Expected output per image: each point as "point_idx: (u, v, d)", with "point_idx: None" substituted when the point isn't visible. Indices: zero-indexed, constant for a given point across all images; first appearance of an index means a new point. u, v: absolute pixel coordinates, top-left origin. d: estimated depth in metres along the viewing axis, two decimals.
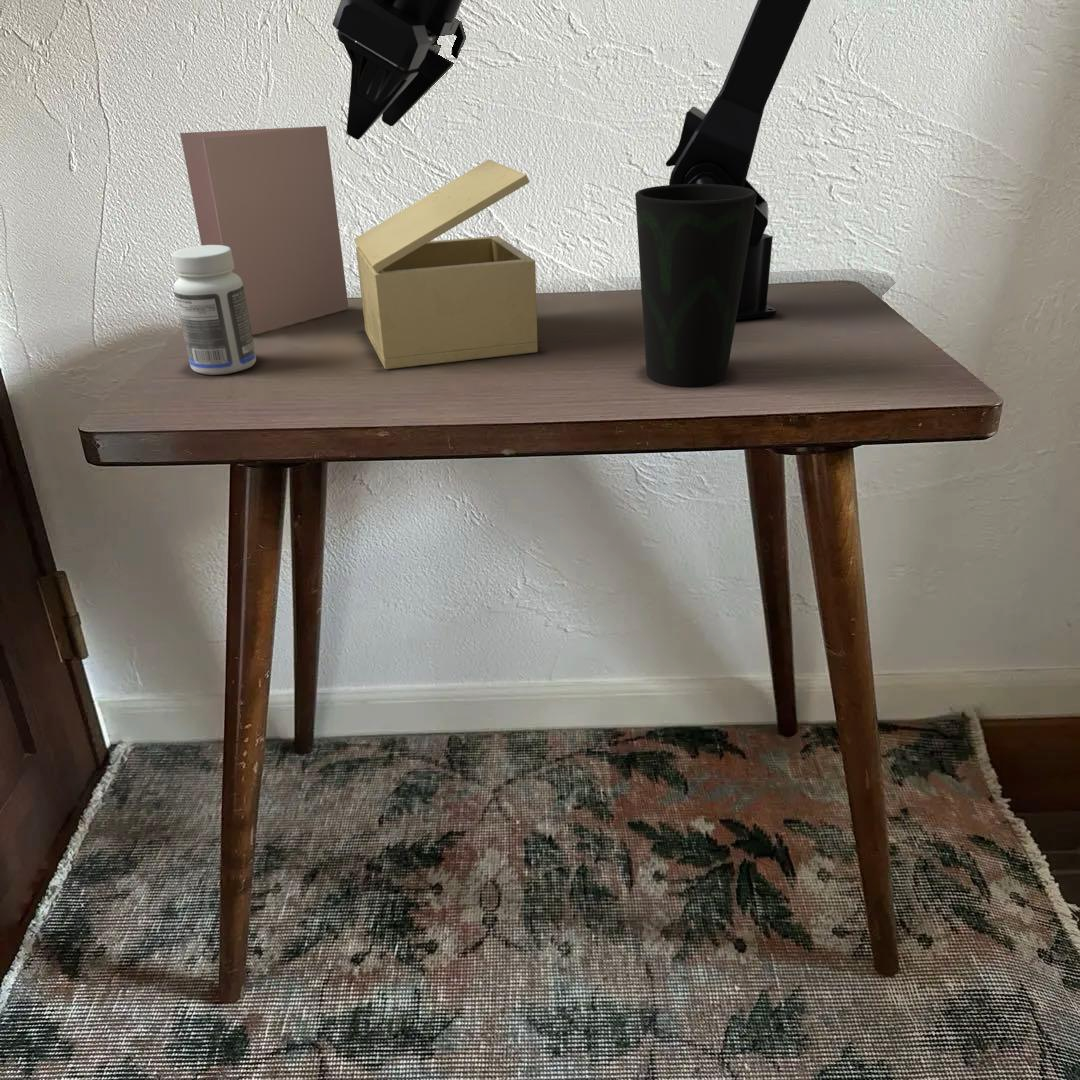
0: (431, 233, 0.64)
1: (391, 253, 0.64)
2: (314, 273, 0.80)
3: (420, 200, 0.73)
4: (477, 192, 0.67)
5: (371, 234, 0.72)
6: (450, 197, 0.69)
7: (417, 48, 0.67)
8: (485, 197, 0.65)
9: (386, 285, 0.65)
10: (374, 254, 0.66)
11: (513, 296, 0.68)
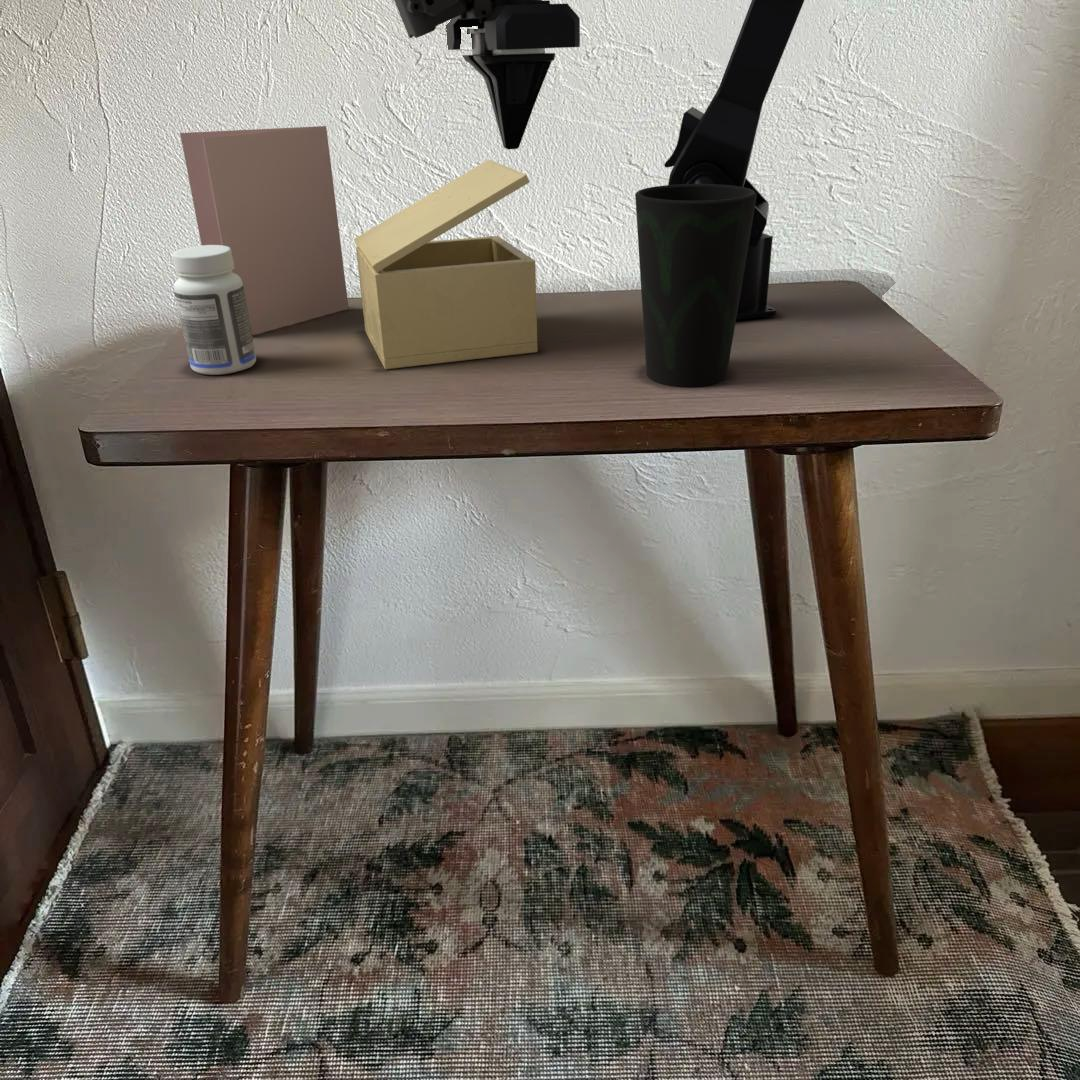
0: (431, 233, 0.64)
1: (391, 253, 0.64)
2: (314, 273, 0.80)
3: (420, 200, 0.73)
4: (477, 192, 0.67)
5: (371, 234, 0.72)
6: (450, 197, 0.69)
7: None
8: (485, 197, 0.65)
9: (386, 285, 0.65)
10: (374, 254, 0.66)
11: (513, 296, 0.68)
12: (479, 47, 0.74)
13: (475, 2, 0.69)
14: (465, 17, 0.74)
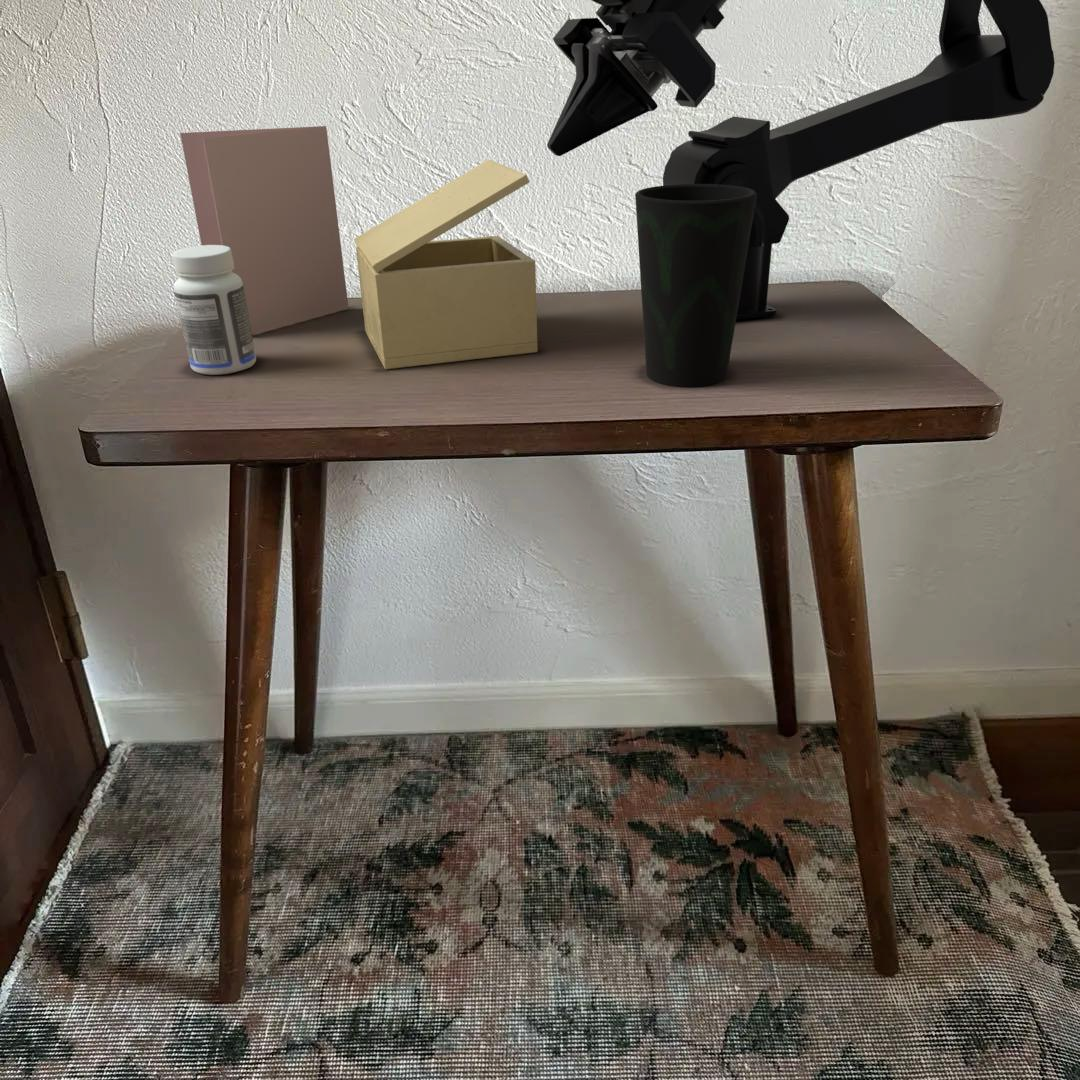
0: (431, 233, 0.64)
1: (391, 253, 0.64)
2: (314, 273, 0.80)
3: (420, 200, 0.73)
4: (477, 192, 0.67)
5: (371, 234, 0.72)
6: (450, 197, 0.69)
7: (711, 87, 0.62)
8: (485, 197, 0.65)
9: (386, 285, 0.65)
10: (374, 254, 0.66)
11: (513, 296, 0.68)
12: None
13: None
14: (604, 14, 0.68)
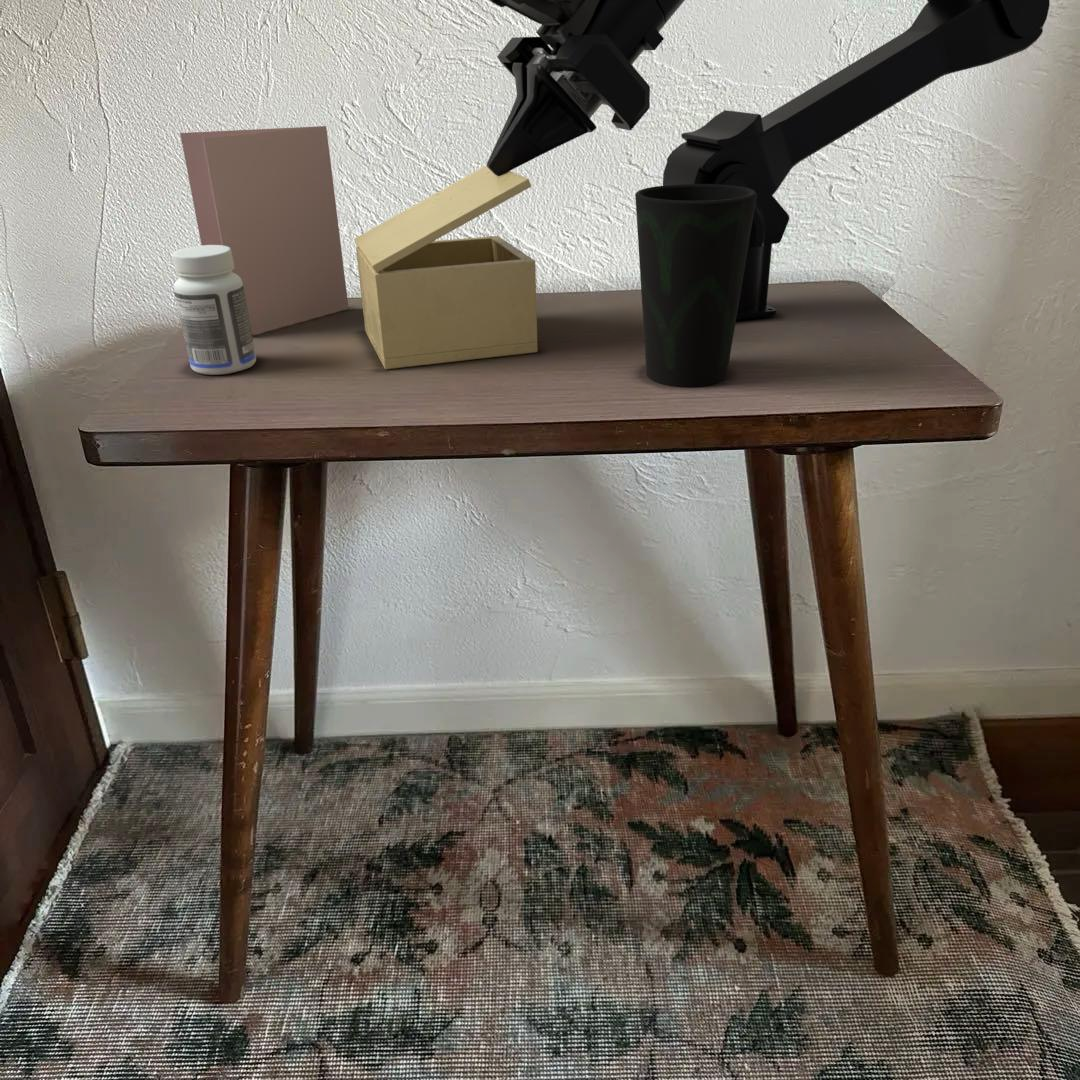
0: (432, 235, 0.65)
1: (391, 254, 0.64)
2: (314, 273, 0.80)
3: (421, 202, 0.73)
4: (479, 195, 0.67)
5: (371, 234, 0.72)
6: (451, 199, 0.69)
7: (646, 110, 0.62)
8: (487, 200, 0.65)
9: (386, 285, 0.65)
10: (374, 254, 0.66)
11: (513, 296, 0.68)
12: None
13: (570, 20, 0.63)
14: (544, 34, 0.67)
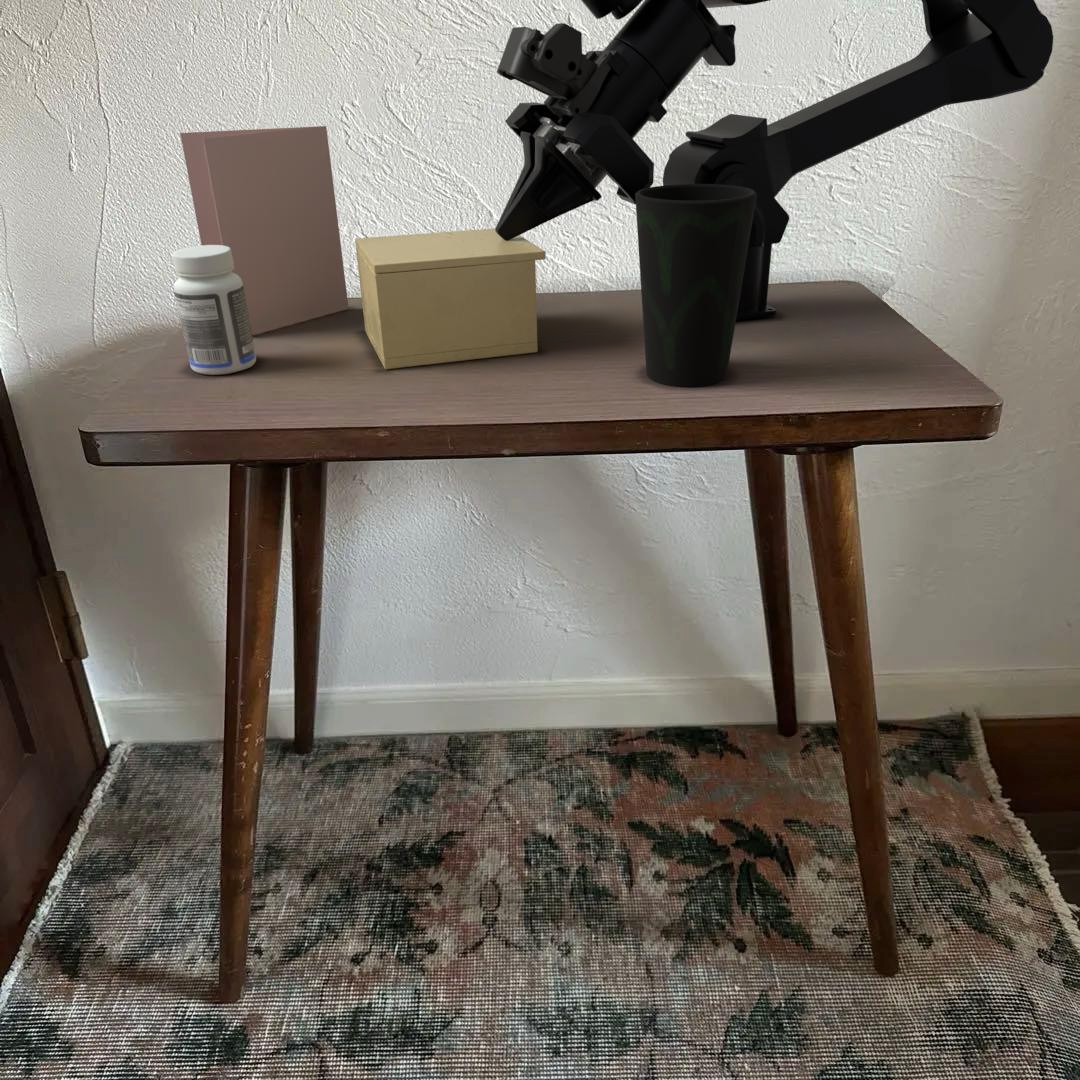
0: (440, 262, 0.66)
1: (396, 262, 0.65)
2: (314, 273, 0.80)
3: (431, 233, 0.74)
4: (493, 247, 0.69)
5: (375, 241, 0.72)
6: (464, 241, 0.71)
7: (649, 185, 0.64)
8: (501, 253, 0.67)
9: (386, 285, 0.65)
10: (377, 257, 0.66)
11: (513, 296, 0.68)
12: (543, 137, 0.70)
13: (577, 96, 0.66)
14: (551, 105, 0.70)
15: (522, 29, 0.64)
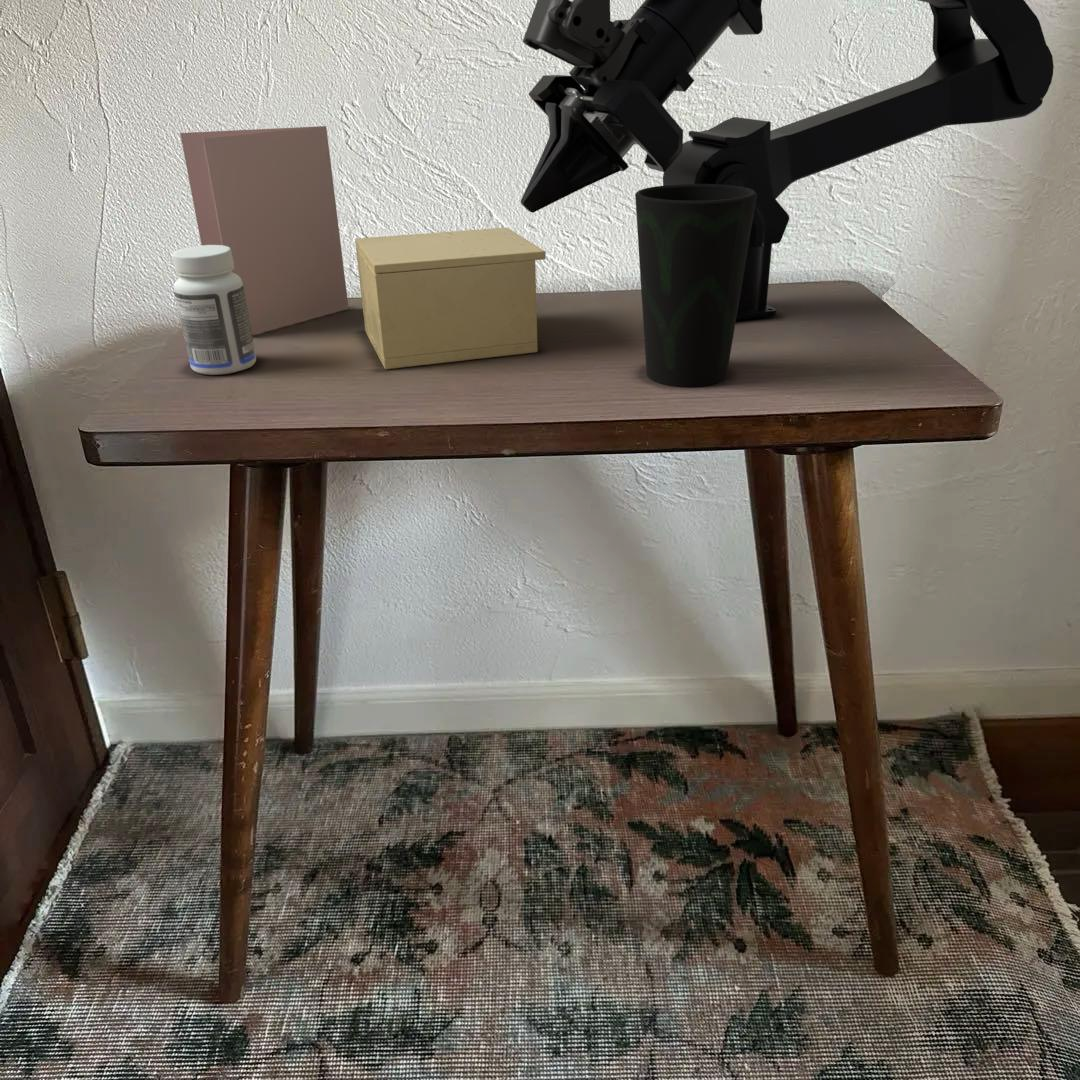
0: (440, 262, 0.66)
1: (396, 262, 0.65)
2: (314, 273, 0.80)
3: (431, 233, 0.74)
4: (493, 247, 0.69)
5: (375, 241, 0.72)
6: (464, 241, 0.71)
7: (678, 153, 0.64)
8: (501, 253, 0.67)
9: (386, 285, 0.65)
10: (377, 257, 0.66)
11: (513, 296, 0.68)
12: None
13: (605, 64, 0.65)
14: (577, 75, 0.69)
15: None
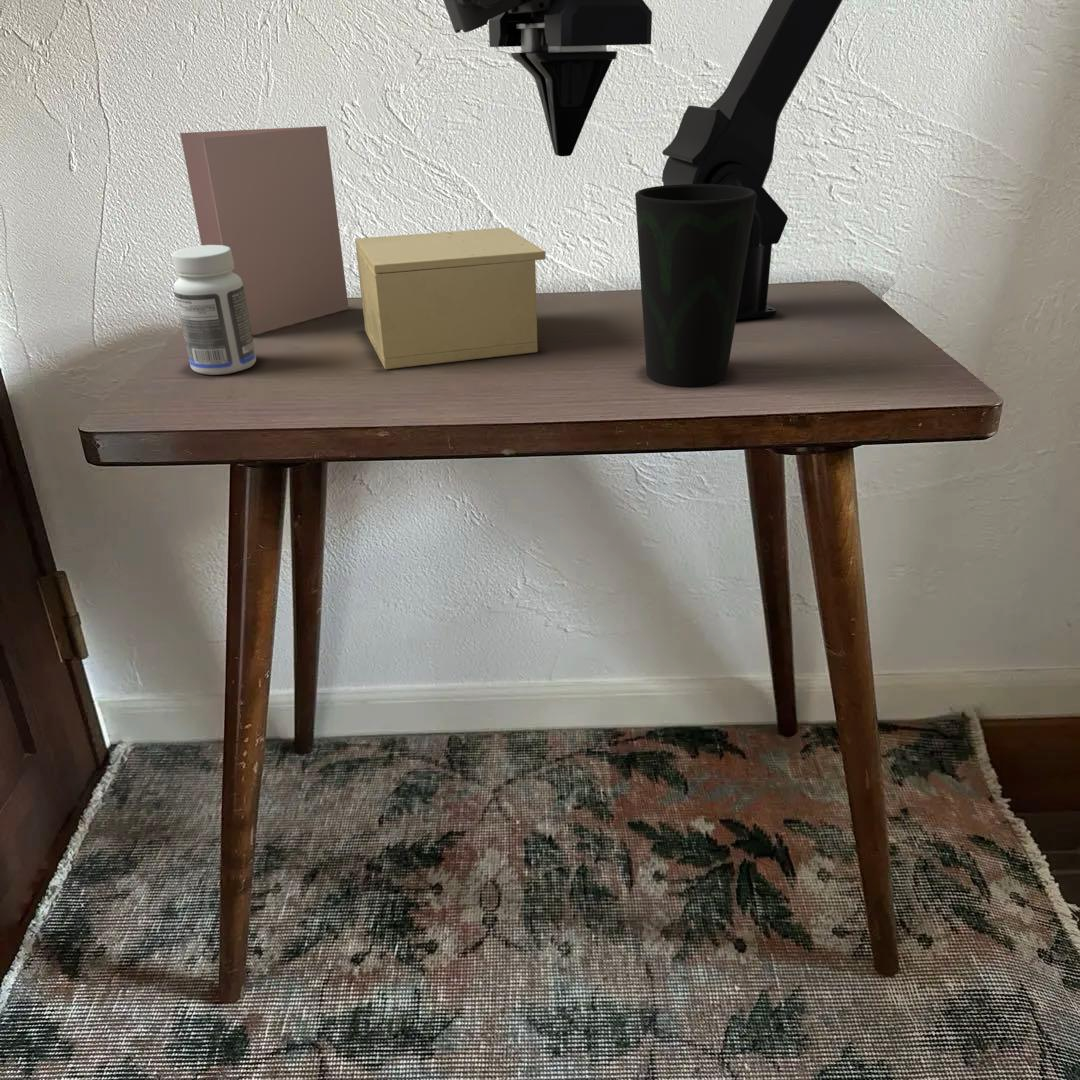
0: (440, 262, 0.66)
1: (396, 262, 0.65)
2: (314, 273, 0.80)
3: (431, 233, 0.74)
4: (493, 247, 0.69)
5: (375, 241, 0.72)
6: (464, 241, 0.71)
7: (650, 16, 0.60)
8: (501, 253, 0.67)
9: (386, 285, 0.65)
10: (377, 257, 0.66)
11: (513, 296, 0.68)
12: (531, 44, 0.68)
13: None
14: (516, 11, 0.67)
15: None
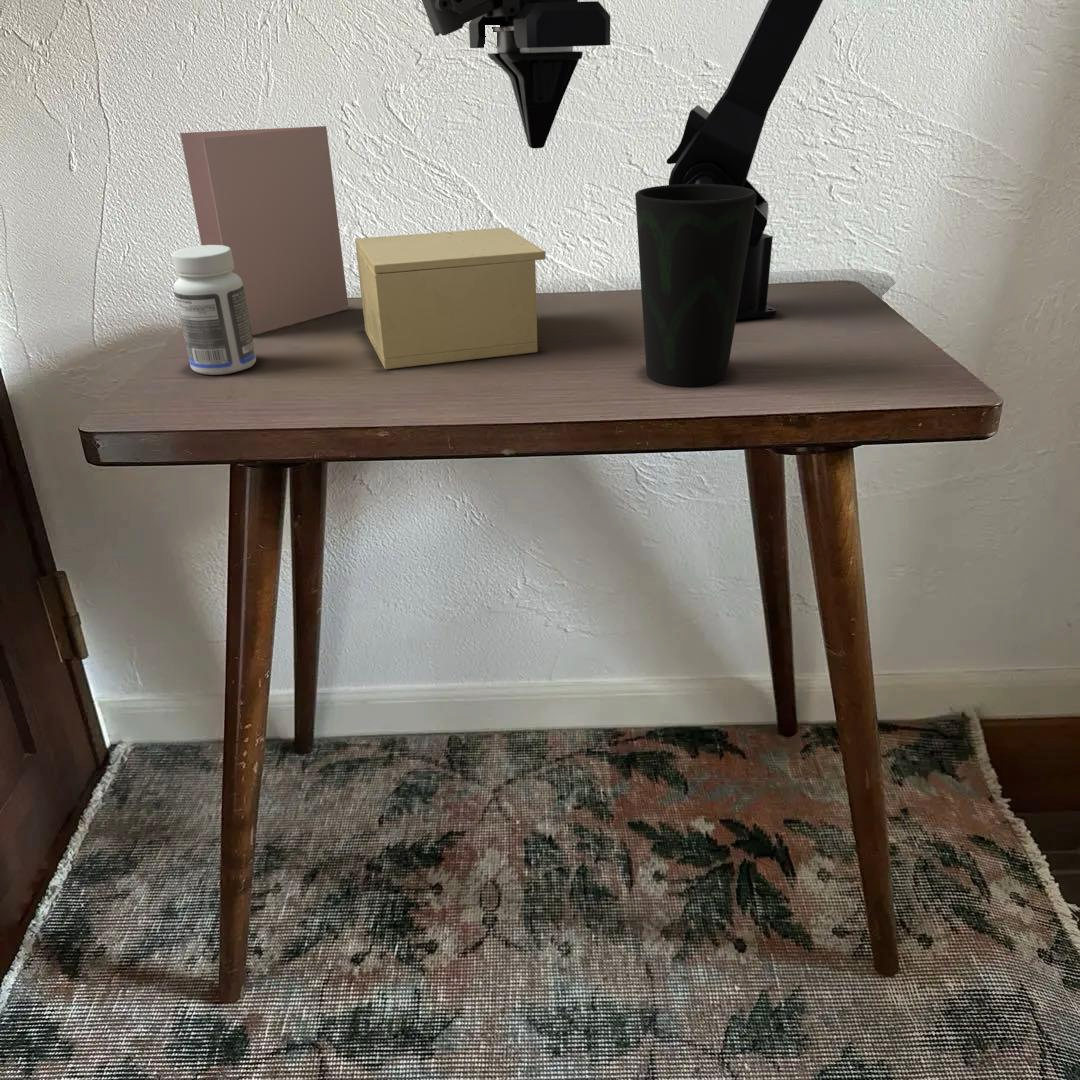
0: (440, 262, 0.66)
1: (396, 262, 0.65)
2: (314, 273, 0.80)
3: (431, 233, 0.74)
4: (493, 247, 0.69)
5: (375, 241, 0.72)
6: (464, 241, 0.71)
7: (609, 19, 0.66)
8: (501, 253, 0.67)
9: (386, 285, 0.65)
10: (377, 257, 0.66)
11: (513, 296, 0.68)
12: (505, 45, 0.74)
13: (503, 0, 0.69)
14: (491, 15, 0.73)
15: None
